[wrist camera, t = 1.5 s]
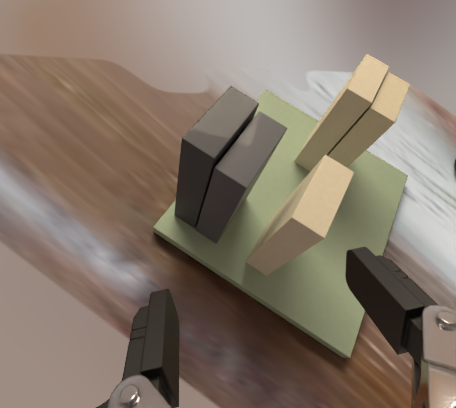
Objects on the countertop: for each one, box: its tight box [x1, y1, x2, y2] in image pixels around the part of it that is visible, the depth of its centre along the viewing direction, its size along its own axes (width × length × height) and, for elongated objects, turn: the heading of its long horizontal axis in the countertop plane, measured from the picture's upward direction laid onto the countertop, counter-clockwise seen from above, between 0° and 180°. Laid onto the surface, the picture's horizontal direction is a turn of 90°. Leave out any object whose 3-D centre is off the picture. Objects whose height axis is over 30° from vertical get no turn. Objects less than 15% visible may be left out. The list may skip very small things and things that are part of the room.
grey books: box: [174, 86, 287, 244], centre depth 28 cm, size 6×7×14 cm
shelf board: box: [153, 90, 408, 358], centre depth 38 cm, size 25×28×2 cm
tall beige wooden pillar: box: [246, 155, 354, 276], centre depth 28 cm, size 3×7×13 cm, turn 149°
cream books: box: [294, 54, 410, 172], centre depth 35 cm, size 6×7×13 cm
